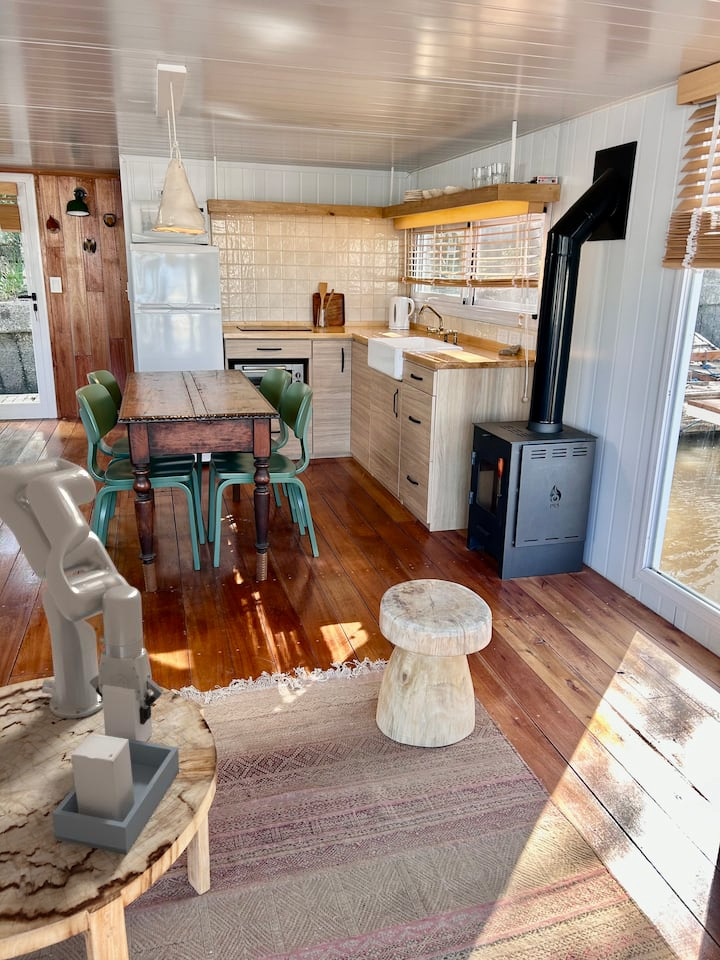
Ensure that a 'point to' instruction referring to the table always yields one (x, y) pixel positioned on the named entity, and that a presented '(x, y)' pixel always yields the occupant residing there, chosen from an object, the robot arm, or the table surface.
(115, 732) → the milk carton
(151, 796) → the tote
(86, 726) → the table surface
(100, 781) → the skincare box
